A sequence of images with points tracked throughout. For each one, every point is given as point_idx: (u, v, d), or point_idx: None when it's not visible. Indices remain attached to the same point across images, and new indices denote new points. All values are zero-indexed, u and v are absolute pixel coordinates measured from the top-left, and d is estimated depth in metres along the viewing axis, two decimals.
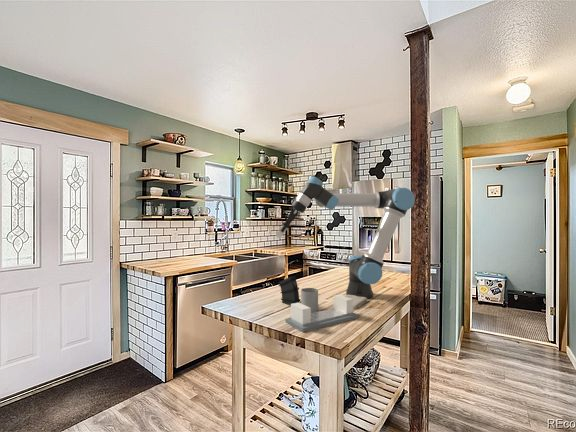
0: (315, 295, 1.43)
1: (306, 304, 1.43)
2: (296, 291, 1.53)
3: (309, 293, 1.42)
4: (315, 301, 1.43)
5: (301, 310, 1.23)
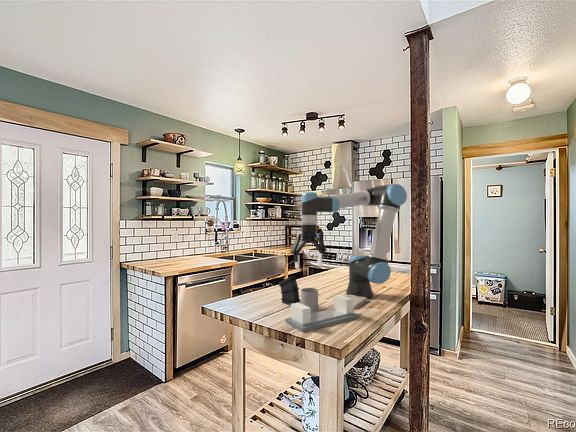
0: (315, 295, 1.43)
1: (306, 304, 1.43)
2: (296, 291, 1.53)
3: (309, 293, 1.42)
4: (315, 301, 1.43)
5: (301, 310, 1.23)
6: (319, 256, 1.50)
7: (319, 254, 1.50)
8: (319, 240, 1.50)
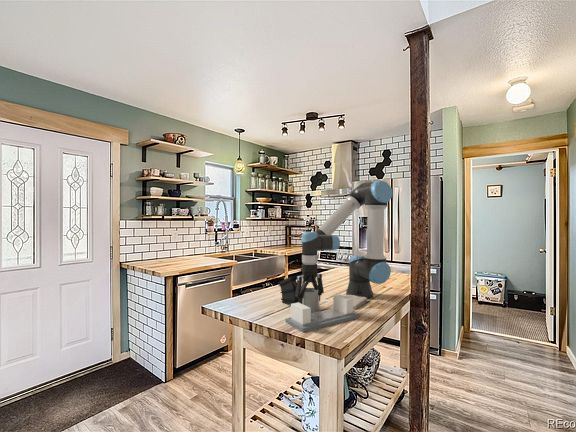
0: (315, 295, 1.43)
1: (306, 304, 1.43)
2: None
3: (309, 293, 1.42)
4: (315, 301, 1.43)
5: (301, 310, 1.23)
6: None
7: None
8: (318, 280, 1.49)
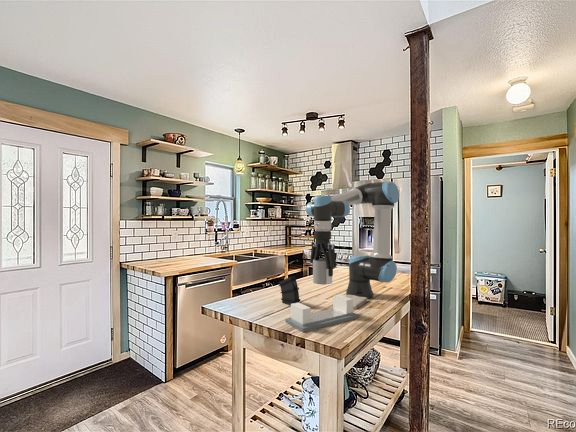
0: None
1: None
2: (296, 291, 1.53)
3: None
4: None
5: (301, 310, 1.23)
6: None
7: None
8: (315, 249, 1.38)
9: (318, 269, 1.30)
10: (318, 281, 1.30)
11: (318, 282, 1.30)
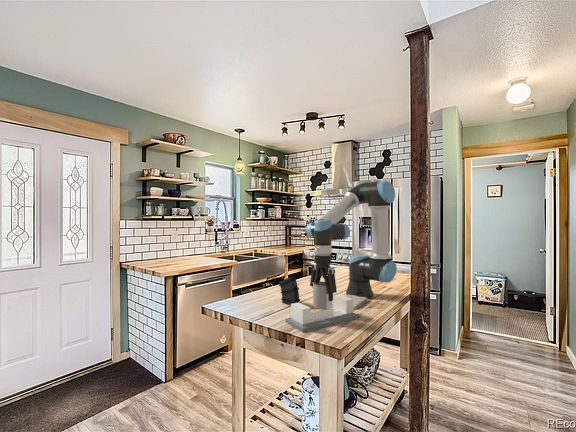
0: None
1: None
2: (296, 291, 1.53)
3: None
4: None
5: (301, 310, 1.23)
6: None
7: None
8: (315, 272, 1.38)
9: (318, 294, 1.29)
10: (318, 306, 1.30)
11: (318, 307, 1.30)
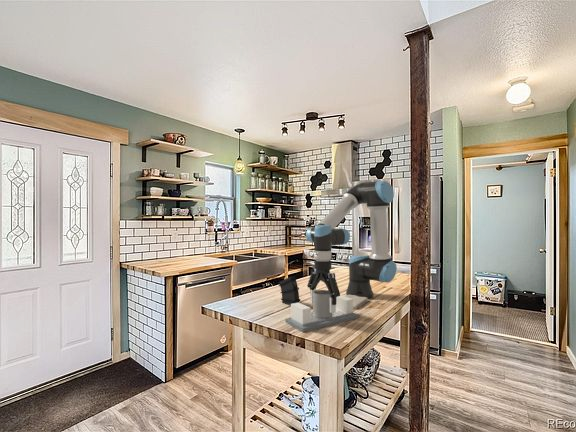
0: None
1: None
2: (296, 291, 1.53)
3: None
4: None
5: (301, 310, 1.23)
6: None
7: None
8: (314, 276, 1.38)
9: (319, 303, 1.30)
10: (318, 314, 1.30)
11: (318, 315, 1.30)
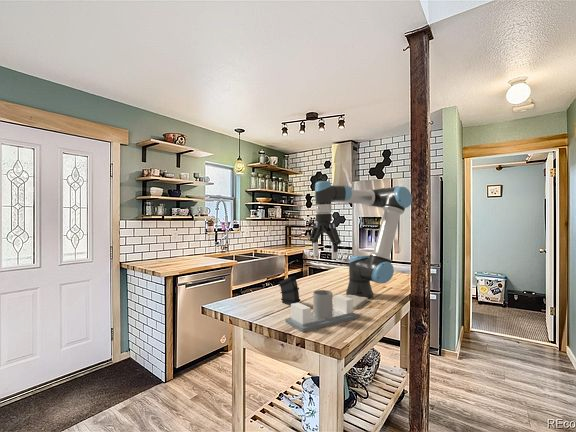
0: None
1: (331, 307, 1.31)
2: (296, 291, 1.53)
3: None
4: None
5: (301, 310, 1.23)
6: (316, 245, 1.50)
7: (316, 243, 1.50)
8: (316, 230, 1.50)
9: (319, 303, 1.30)
10: (318, 315, 1.30)
11: (318, 316, 1.30)
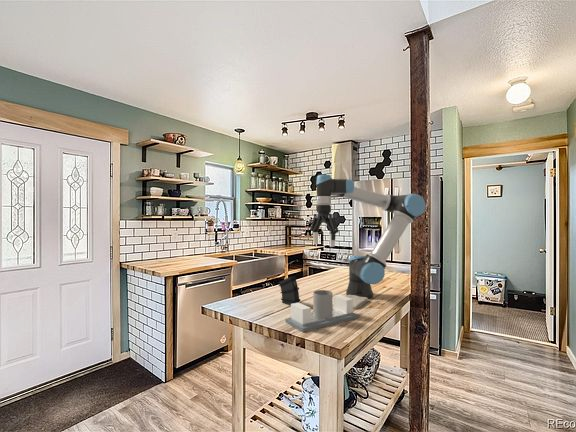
0: None
1: (331, 307, 1.31)
2: (296, 291, 1.53)
3: None
4: None
5: (301, 310, 1.23)
6: (316, 235, 1.62)
7: (316, 233, 1.62)
8: (316, 220, 1.62)
9: (319, 303, 1.30)
10: (318, 315, 1.30)
11: (318, 316, 1.30)
